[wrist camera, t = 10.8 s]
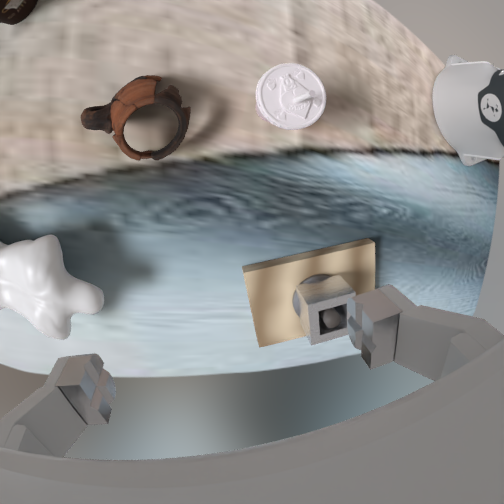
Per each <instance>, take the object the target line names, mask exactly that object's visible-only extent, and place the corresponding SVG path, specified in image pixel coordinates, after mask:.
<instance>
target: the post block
mask: <svg viewBox="0 0 504 504" xmlns="http://www.w3.org/2000/svg"><path fill="white" fill-rule="evenodd" d="M242 269H243V274H244V279H245V284H246V289H247V293H248V298H249V303H250V307H251V312H252V317H253V322H254V326H255V331H256V336H257V340H258V344H259V347H264V346H268V345H272V344H276V343H280V342H284V341H288V340H292V339H296V338H300V337H304V336H306V334H305V332H304V330H303V328H302V326H301V324H300V316H299V308H298V299H297V291H296V285H300V284H304V283H308V282H313V281H317V280H321V279H325V278H328V277H332V276H336V275H340V276H341V277H342V278H343V279H344V280H345V281H346V282H347V283H348V284H349V286H350V287H351V288H352V289H353V290H354V291H355V292H356V296H357V295H360V294H363V293H366V292H369V291H372V290H375V242H373V241H372V240H370V239H369V238H366V239H362V240H357V241H353V242H349V243H345V244H340V245H336V246H331V247H327V248H323V249H318V250H314V251H309V252H305V253H301V254H296V255H292V256H287V257H283V258H278V259H274V260H269V261H265V262H260V263H256V264H251V265H247V266H242ZM318 313H319V315H320V316H321V318H322V320H323V321H324V323H325V324H326V326H327V327H328V328H334V327H336V326H338V325H339V323H340V322H341V317H340V315H339V314H338V312H337V311H336V310H335V308H334V307H332V308H328V309H325V310H321V311H318Z"/></svg>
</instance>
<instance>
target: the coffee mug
mask: <svg viewBox="0 0 504 504" xmlns="http://www.w3.org/2000/svg"><path fill="white" fill-rule="evenodd" d="M37 1H38V0H0V23H1V22H2V23H6V24H10V25H13V24H17V23H19V22H20V21H22V20H23V19H25V18H26V17H27V16H28V15H29V14H30V13H31V11H32V10H33V9H34V7H35V5H36V3H37Z"/></svg>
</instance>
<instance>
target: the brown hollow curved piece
mask: <svg viewBox="0 0 504 504" xmlns="http://www.w3.org/2000/svg"><path fill="white" fill-rule="evenodd" d="M161 79H162V78H161V77H159V76H149V75H147V76H141V77H138V78H136V79H134V80H133V81H131V82H130V83H128V84H127V85H125V86H124V87H123V88H122V89H121V90H119V92H118V93H117V94H116V95H115V96H114V97H113V99H112V101H111V102H110V103H109V104H107V105H104V106H95V107H89V108H86V109H84V111H83V113H82V114H81V121H82V125H83V126H84V127H85V128H86V129H91V130H103V131H105V132H106V133H108V134H110V133H111V132H112V131H114V132H115V135H113V139H114V140H115V142H116V143H117V144H118V145H119V147H120V149H121V150H122V151H123V152H124V153H125V154H126V155H127V156H129V157H130V158H132V159H135V160H140V159H148V158H153V159H154V160H159V159H162V158H164V157H166V156H167V155H169V154H171V153H172V152H174V151H175V150H176V149H177V148H178V146H179V145H180V143H181V142H182V140H183V139H184V137H185V134H186V132H187V129H188V124H189V118H190V107H187V108H182V107H181V104H182V99H181V96H180V95H179V90H178V89H177V88H176V87H174V86H172V85H169V87H168V89H165V90H164V91H162V92H160V93H158V94H156V95H155V88H156V84H157V82H156V81H161ZM155 103H156V104H162V105H165V106H167V107H169V108H171V109H172V110H173V111H174V112H175V113H176V115H177V117H178V121H179V127H178V132H177V134H176V136H175V138H174V139H173V140H172V141H171V142H170V143H169V144H168V145H167V146H165V147H164V148H162V149H160V150H158V151H155V152H152V151H144V152H139V151H136V150H134V149H133V148H131V147H130V146H129V145H128V144H127V142H126V141H125V138H124V134H123V131H124V126H125V123H126V121H127V119H128V118H129V116H130V115H131V114H132V113H133V112H134V111H136V110H137V109H139V108H141V107H143V106H146V105H150V104H155Z"/></svg>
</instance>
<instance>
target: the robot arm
mask: <svg viewBox="0 0 504 504" xmlns="http://www.w3.org/2000/svg"><path fill="white" fill-rule="evenodd" d="M433 109H434V114H435V118H436V121H437V124H438V127H439V129H440V131H441V133H442V135H443V137H444V138H445V140H446V141H447V142H448V143H449V144H450V145H451V146H452V147H453V148H454V149H455V150H456V151H457V153H458V155H459V157H460V159H461V161H462V163H463V164H464V165H465V166H472V165H474V164H476V163H479V162H481V161H483V160H485V159H494V160H501V158H502V157H504V69H503V70H501V69H499V68H496V67H495V66H494V65H493V64H490V63H489V62H486V61H479V62H468V61H466V60H464V59H462V58H460V57H458V56H456V55H450V56H449V58H448V60H447V64H446V67H445V68H444V69H443V70H442V71H441V72H440V73H439V75H438V76H437V78H436V80H435V83H434V87H433ZM347 310H348V312H349V313H350V314H351V316H350V318H349V319H348V321H347V326H348V333H349V337H350V340H351V342H352V344H353V345H354V347H355V348H357V349H359V350H361V357H362V358H363V360H364V361H365V363H366V364H367V365H368V367H369V368H370V369H373V368H376V367H379V366H382V365H384V364H387V363H390V362H392V361H394V362H396V363H397V364H399V365H402V366H404V367H406V368H408V369H410V370H412V371H414V372H416V373H419V374H421V375H423V376H425V377H427V378H429V379H432V380H434V381H435V382H433V383H431V384H429V385H427V386H425V387H423V388H421V389H419V390H417V391H415V392H413V393H411V394H409V395H406V396H404V397H402V398H400V399H398V400H396V401H393V402H391V403H389V404H387V405H384V406H382V407H379V408H377V409H374V410H372V411H370V412H367V413H365V414H362V415H359V416H357V417H354V418H351V419H349V420H346V421H343V422H340V423H337V424H334V425H331V426H328V427H325V428H322V429H319V430H315V431H312V432H309V433H305V434H302V435H298V436H295V437H291V438H287V439H284V440H279V441H275V442H271V443H266V444H262V445H257V446H252V447H247V448H242V449H237V450H232V451H225V452H219V453H212V454H205V455H197V456H188V457H178V458H166V459H148V460H94V459H78V458H65V457H64V456H65V454H66V453H67V452H68V450H69V449H70V448H71V447H72V445H73V444H74V443H75V441H76V440H77V439H78V438H79V436H80V435H81V434H82V433H83V431H84V430H85V429H86V428H87V425H98V424H108V423H109V418H110V414H111V410H112V409H111V407H110V405H109V404H110V403H111V402H112V401H113V400H114V399H115V394H116V390H115V383H114V380H113V378H112V376H111V375H110V373H109V372H107V371H106V370H104V369H103V364H104V363H103V361H102V359H101V358H100V356H99V355H97V354H85V355H76V356H66V357H61V358H58V360H57V362H56V363H55V365H54V367H53V369H52V371H51V373H50V375H49V377H48V379H47V381H46V383H45V384H44V387H40V388H39V389H37V390H36V391H35V392H34V393H32V394H31V395H30V396H29V397H27V398H26V399H25V400H24V401H22V402H21V403H20V404H19V405H17V406H16V407H15V408H14V409H13V410H11V411H10V412H9V413H8V414H6V415H5V416H4V417H3V418H1V419H0V504H504V335H503V334H502V333H500V332H499V331H498V330H497V329H495V328H494V327H493V326H492V325H491V324H489V323H488V322H487V321H486V320H484V319H480V318H477V317H472V316H467V315H463V314H458V313H454V312H449V311H445V310H440V309H436V308H432V307H427V306H423V305H420V306H418V307H417V306H416V305H415V304H414V303H413V302H412V301H410V300H409V299H408V298H407V297H406V296H404V295H403V294H402V293H401V292H400V291H399V290H397V289H396V288H395V287H394V286H393V285H390V284H388V285H385V286H382V287H380V288H377V289H375V290H372V291H369V292H366V293H363V294H360V295H357V296H354V297H350V298H348V300H347Z"/></svg>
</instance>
